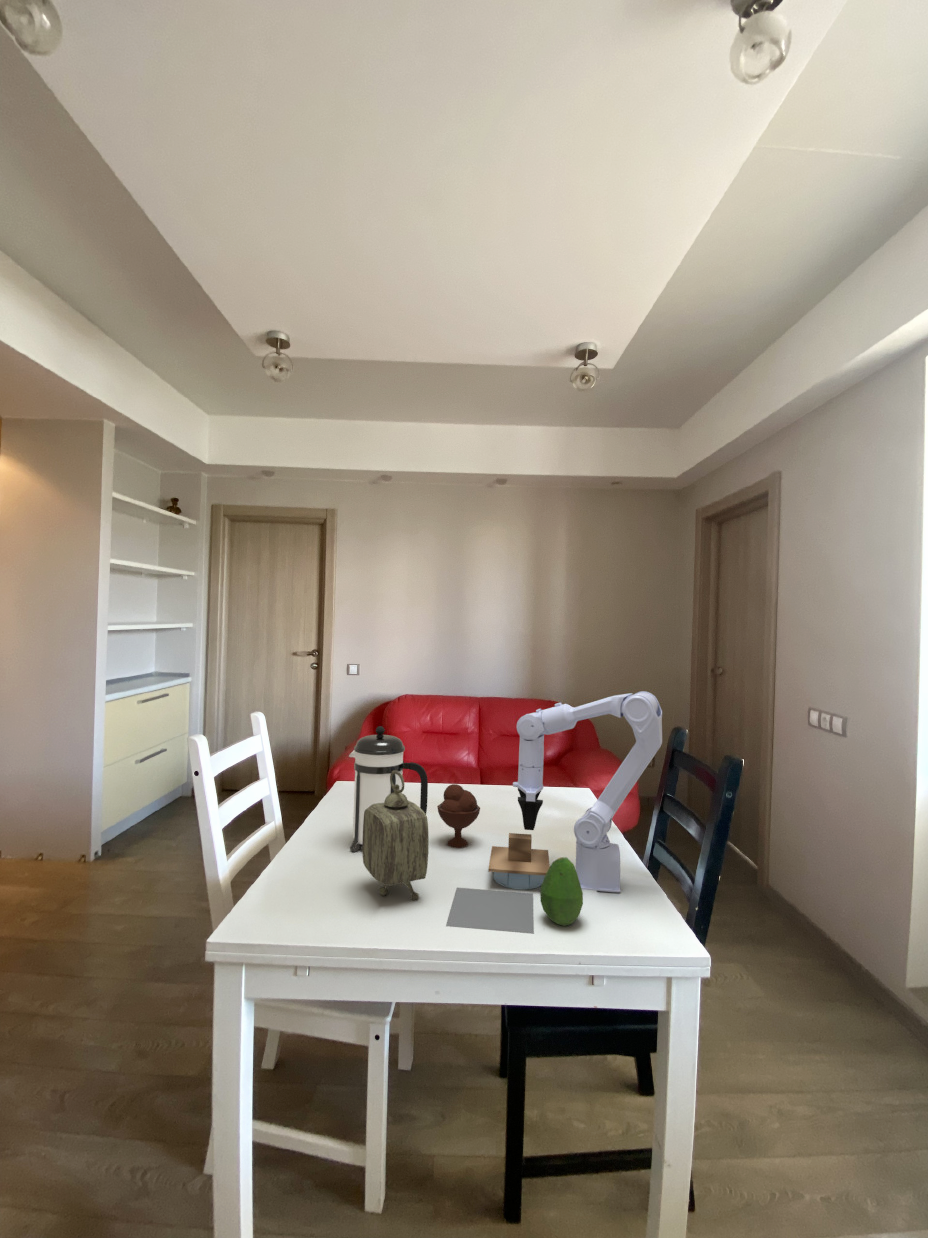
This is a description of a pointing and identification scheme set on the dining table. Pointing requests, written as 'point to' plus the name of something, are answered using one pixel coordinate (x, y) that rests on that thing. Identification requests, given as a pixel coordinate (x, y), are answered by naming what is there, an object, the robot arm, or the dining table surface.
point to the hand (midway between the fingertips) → (528, 824)
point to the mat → (492, 910)
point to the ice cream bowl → (458, 812)
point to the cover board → (519, 866)
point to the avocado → (561, 892)
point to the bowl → (518, 880)
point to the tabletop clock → (396, 840)
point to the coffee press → (379, 776)
